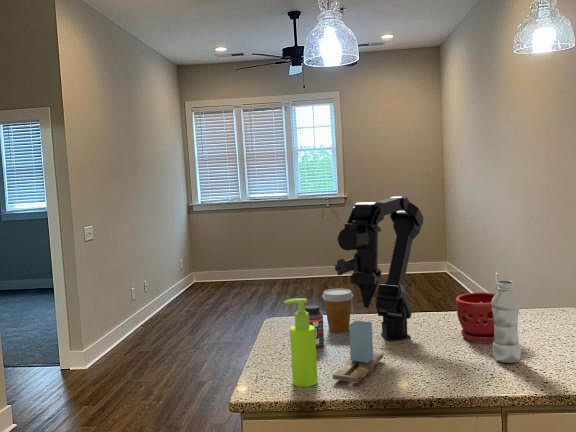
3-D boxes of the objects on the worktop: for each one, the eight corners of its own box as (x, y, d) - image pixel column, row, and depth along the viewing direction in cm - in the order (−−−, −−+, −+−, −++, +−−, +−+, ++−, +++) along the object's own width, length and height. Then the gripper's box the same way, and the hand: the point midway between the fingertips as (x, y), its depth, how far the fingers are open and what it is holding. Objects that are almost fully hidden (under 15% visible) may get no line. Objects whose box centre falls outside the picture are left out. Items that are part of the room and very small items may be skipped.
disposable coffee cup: (336, 323, 170) (335, 286, 169) (360, 328, 163) (358, 290, 162) (317, 330, 163) (315, 292, 162) (341, 335, 156) (339, 296, 155)
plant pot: (480, 328, 157) (479, 289, 156) (516, 340, 145) (515, 297, 144) (447, 336, 151) (446, 295, 150) (481, 349, 139) (480, 305, 138)
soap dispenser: (287, 378, 126) (283, 297, 124) (315, 376, 126) (311, 295, 125) (289, 388, 120) (284, 303, 118) (319, 385, 120) (315, 300, 119)
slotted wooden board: (360, 357, 137) (360, 349, 137) (383, 361, 134) (383, 352, 134) (332, 383, 121) (332, 374, 121) (358, 387, 118) (357, 378, 118)
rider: (356, 359, 132) (355, 320, 131) (373, 361, 130) (371, 322, 129) (350, 365, 129) (349, 324, 128) (367, 367, 127) (366, 326, 126)
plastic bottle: (509, 368, 125) (507, 286, 123) (486, 360, 131) (484, 281, 129) (527, 362, 128) (525, 282, 126) (504, 354, 134) (502, 278, 132)
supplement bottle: (322, 348, 146) (321, 309, 145) (301, 348, 147) (299, 309, 146) (325, 342, 151) (323, 303, 151) (305, 341, 153) (303, 303, 152)
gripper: (343, 246, 150) (342, 300, 150) (330, 250, 132) (330, 311, 132) (381, 247, 147) (381, 302, 147) (374, 251, 129) (374, 314, 129)
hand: (366, 307), depth 139 cm, fingers closed
